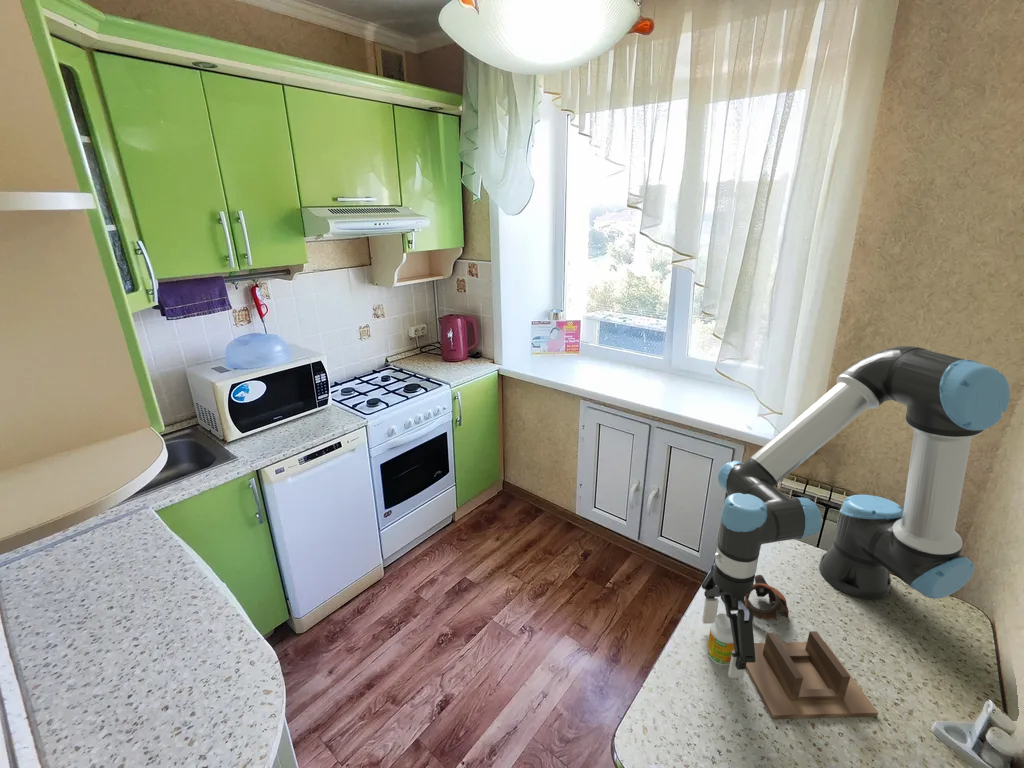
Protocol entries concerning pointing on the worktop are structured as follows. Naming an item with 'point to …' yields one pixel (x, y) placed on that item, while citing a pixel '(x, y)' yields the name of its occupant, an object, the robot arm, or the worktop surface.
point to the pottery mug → (774, 596)
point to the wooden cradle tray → (805, 680)
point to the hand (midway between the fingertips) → (721, 647)
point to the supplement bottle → (720, 640)
